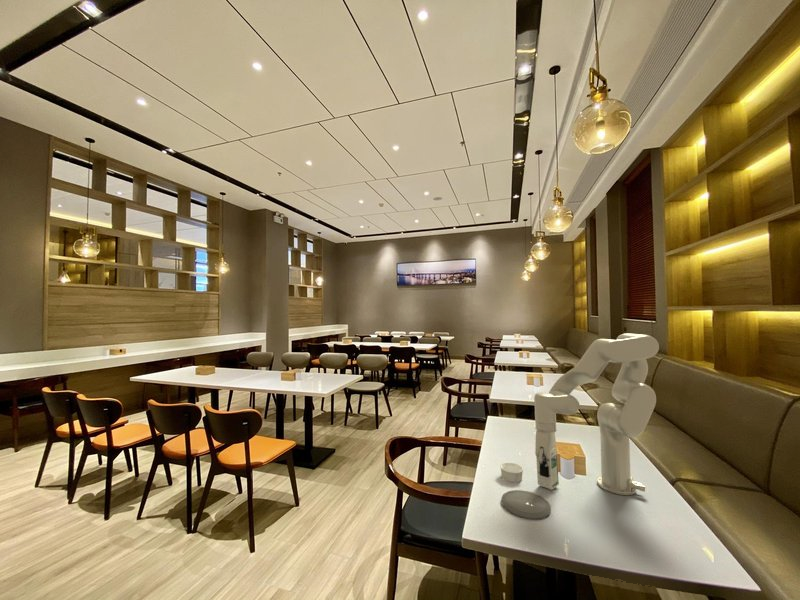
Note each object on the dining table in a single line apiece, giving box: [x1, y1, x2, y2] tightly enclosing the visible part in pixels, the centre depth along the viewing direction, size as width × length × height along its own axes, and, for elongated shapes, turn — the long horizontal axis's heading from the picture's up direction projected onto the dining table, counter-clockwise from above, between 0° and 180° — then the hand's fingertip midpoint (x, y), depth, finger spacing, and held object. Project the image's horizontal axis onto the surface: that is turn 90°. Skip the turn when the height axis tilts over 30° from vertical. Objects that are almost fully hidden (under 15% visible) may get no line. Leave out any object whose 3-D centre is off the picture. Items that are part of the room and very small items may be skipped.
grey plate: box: [501, 489, 552, 521], centre depth 115 cm, size 16×16×1 cm
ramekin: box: [499, 462, 524, 483], centre depth 135 cm, size 9×9×4 cm
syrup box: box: [535, 446, 560, 491], centre depth 128 cm, size 6×6×14 cm
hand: (547, 472), depth 128 cm, fingers closed on syrup box, 6 cm apart
